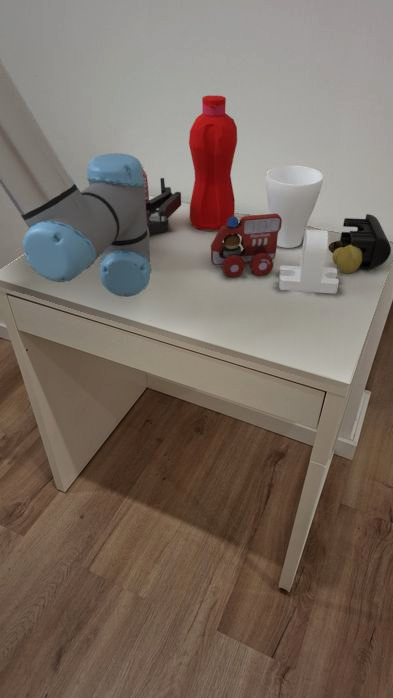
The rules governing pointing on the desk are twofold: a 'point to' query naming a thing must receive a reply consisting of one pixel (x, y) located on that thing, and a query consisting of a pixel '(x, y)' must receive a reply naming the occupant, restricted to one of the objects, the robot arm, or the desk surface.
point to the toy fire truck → (246, 244)
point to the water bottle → (212, 165)
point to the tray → (158, 227)
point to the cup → (292, 200)
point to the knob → (347, 258)
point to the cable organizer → (310, 267)
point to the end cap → (367, 240)
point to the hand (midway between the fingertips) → (129, 185)
